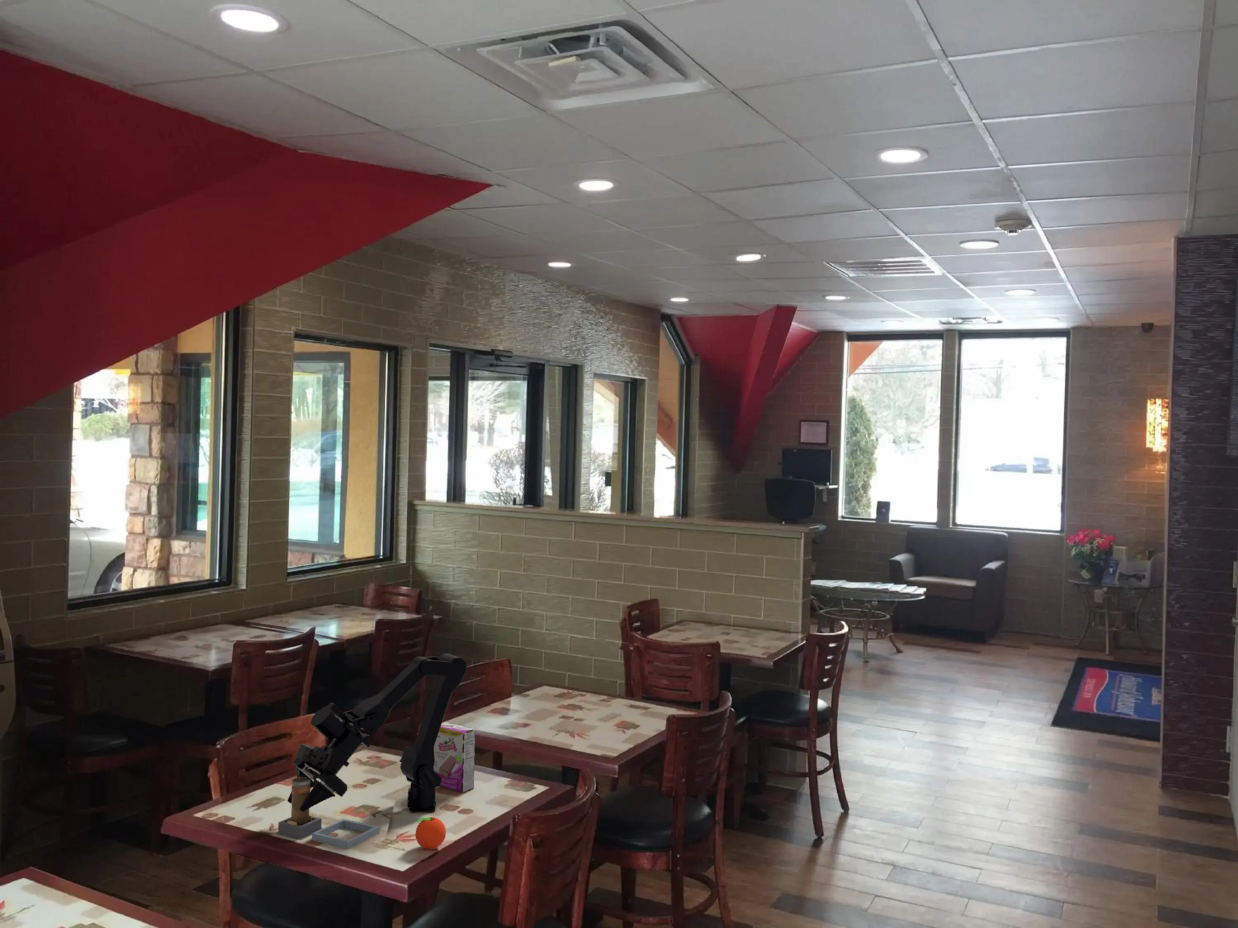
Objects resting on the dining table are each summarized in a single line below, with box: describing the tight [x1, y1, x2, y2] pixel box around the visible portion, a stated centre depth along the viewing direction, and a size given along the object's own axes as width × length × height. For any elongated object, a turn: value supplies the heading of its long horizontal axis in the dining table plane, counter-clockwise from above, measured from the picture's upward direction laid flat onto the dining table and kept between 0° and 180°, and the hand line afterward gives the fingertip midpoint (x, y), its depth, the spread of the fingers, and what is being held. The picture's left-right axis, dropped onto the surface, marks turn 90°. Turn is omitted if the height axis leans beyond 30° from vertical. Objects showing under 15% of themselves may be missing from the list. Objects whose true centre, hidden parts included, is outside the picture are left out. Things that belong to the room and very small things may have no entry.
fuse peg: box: [290, 777, 311, 826], centre depth 235 cm, size 4×4×12 cm
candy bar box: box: [433, 721, 476, 793], centre depth 273 cm, size 11×5×16 cm, turn 58°
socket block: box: [274, 813, 323, 841], centre depth 235 cm, size 8×8×4 cm
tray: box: [311, 818, 380, 850], centre depth 233 cm, size 11×11×3 cm
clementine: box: [414, 816, 447, 850], centre depth 231 cm, size 8×7×7 cm
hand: (294, 806), depth 235 cm, fingers open, 6 cm apart
